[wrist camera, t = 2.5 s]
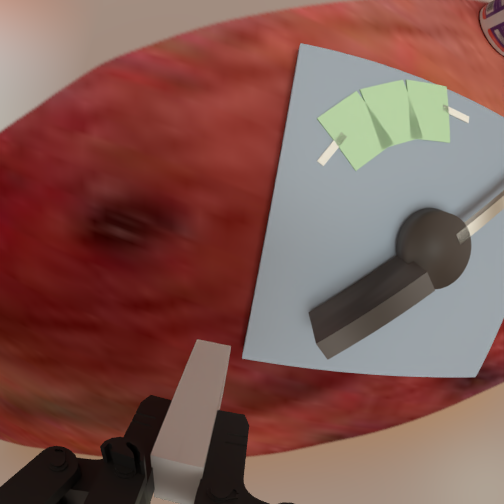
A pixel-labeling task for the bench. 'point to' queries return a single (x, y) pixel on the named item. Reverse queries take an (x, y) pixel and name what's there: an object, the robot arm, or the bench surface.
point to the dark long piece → (401, 277)
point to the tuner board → (377, 216)
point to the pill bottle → (494, 24)
